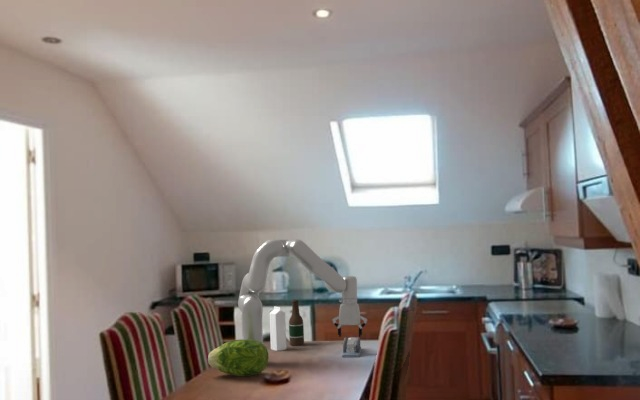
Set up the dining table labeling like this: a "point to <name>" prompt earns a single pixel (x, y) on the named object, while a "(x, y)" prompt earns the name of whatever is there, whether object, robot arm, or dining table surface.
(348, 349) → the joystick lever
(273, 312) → the milk
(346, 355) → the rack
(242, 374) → the lettuce
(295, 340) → the beer bottle
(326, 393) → the dining table surface
